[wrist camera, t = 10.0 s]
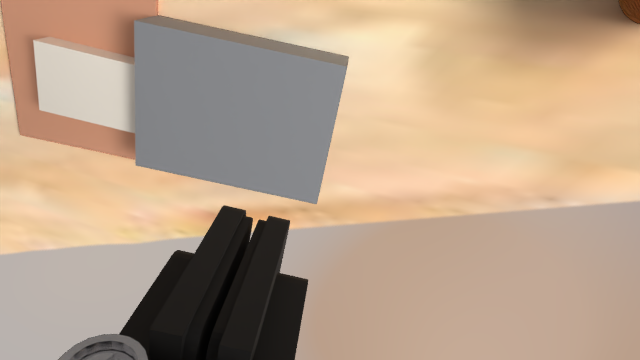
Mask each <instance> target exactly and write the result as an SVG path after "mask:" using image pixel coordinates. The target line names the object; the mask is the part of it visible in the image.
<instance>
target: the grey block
mask: <svg viewBox="0 0 640 360" xmlns="http://www.w3.org/2000/svg"><path fill="white" fill-rule="evenodd" d="M134 53H135V150H136V166H141V167H146V168H150V169H155V170H160V171H164V172H169V173H174V174H178V175H183V176H188V177H192V178H197V179H202V180H206V181H211V182H216V183H220V184H225V185H230V186H234V187H239V188H244V189H248V190H253V191H258V192H262V193H267V194H272V195H276V196H281V197H286V198H290V199H295V200H300V201H304V202H309V203H314V204H317V201H318V196H319V192H320V187H321V183H322V178H323V174H324V169H325V165H326V160H327V156H328V151H329V147H330V142H331V138H332V133H333V129H334V124H335V120H336V115H337V111H338V106H339V102H340V97H341V93H342V88H343V84H344V79H345V75H346V70H347V65H348V58H349V57H348V56H343V55H338V54H334V53H329V52H325V51H320V50H315V49H311V48H306V47H302V46H297V45H292V44H288V43H283V42H279V41H274V40H269V39H265V38H260V37H256V36H251V35H246V34H242V33H237V32H233V31H228V30H223V29H219V28H214V27H210V26H205V25H200V24H196V23H191V22H187V21H182V20H177V19H173V18H168V17H164V16H159V15H156V16H152V17H147V18H143V19H138V20H134Z"/></svg>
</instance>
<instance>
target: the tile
mask: <svg viewBox="0 0 640 360" xmlns="http://www.w3.org/2000/svg"><path fill="white" fill-rule="evenodd" d="M33 43H34V54H35V66H36V77H37V88H38V99H39V110H41V111H45V112H49V113H53V114H57V115H62V116H66V117H70V118H74V119H78V120H82V121H86V122H90V123H94V124H99V125H103V126H107V127H111V128H115V129H119V130H123V131H127V132H131V133H135V58H134V57H130V56H126V55H122V54H118V53H114V52H110V51H106V50H102V49H98V48H94V47H90V46H86V45H82V44H78V43H74V42H70V41H66V40H62V39H58V38H54V37H45V38H41V39H36V40H33Z"/></svg>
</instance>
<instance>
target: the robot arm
mask: <svg viewBox="0 0 640 360" xmlns="http://www.w3.org/2000/svg"><path fill="white" fill-rule="evenodd" d="M252 222H253V218H251V217H246V210H242V209H237V208H233V207H229V206H223V207H222V208H221V210H220V212H219V213H218V215H217V217H216V218H215V220H214V222H213V223H212V225H211V227H210V228H209V230H208V232H207V234H206V235H205V237H204V239H203V240H202V242H201V244H200V246H199V247H198V249H197V250H196V252H195V254H194V253H189V252H185V251H180V250H177V251H175V252H174V254H173V255H172V256H171V258H170V259H169V261H168V262H167V264H166V265H165V266H164V268H163V269H162V271H161V272H160V274H159V276H158V277H157V279H156V280H155V282H154V283H153V284H152V286H151V288H150V289H149V291H148V292H147V293H146V295H145V297H144V298H143V299H142V301H141V302H140V304H139V305H138V307H137V308H136V310H135V311H134V313H133V314H132V316H131V317H130V319H129V320H128V322H127V323H126V325H125V326H124V328H123V329H122V331H121V332H120V334H104V335H99V336H95V337H91V338H88V339H86V340H84V341H82V342H80V343H78V344H76V345H74V346H73V347H72V348H71V349H69V350H68V351H67V352H65V353H64V354H63V355H62V356H61V357H60V358H59V359H58V360H295V353H296V348H297V342H298V336H299V331H300V325H301V320H302V314H303V308H304V302H305V296H306V291H307V285H308V280H307V279H303V278H299V277H295V276H290V275H286V274H281V273H279V272H280V268H281V263H282V258H283V253H284V249H285V244H286V239H287V235H288V230H289V225H290V220H285V219H281V218H277V217H272V216H269V217H268V219H267V221H264V220H259V221H258V223H257V225H256V228H255V230H254V232H253V235H252V237H251V240H250V235H251V229H252ZM249 241H250V242H249Z"/></svg>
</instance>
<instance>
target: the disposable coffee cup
mask: <svg viewBox="0 0 640 360" xmlns="http://www.w3.org/2000/svg"><path fill="white" fill-rule="evenodd" d="M619 4H620V7H621V9H622V11H623V13H624V14H625V15H626V16H627V17H628V18H629V19H631V20H632V21H634V22H636V23H639V24H640V0H619Z"/></svg>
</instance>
